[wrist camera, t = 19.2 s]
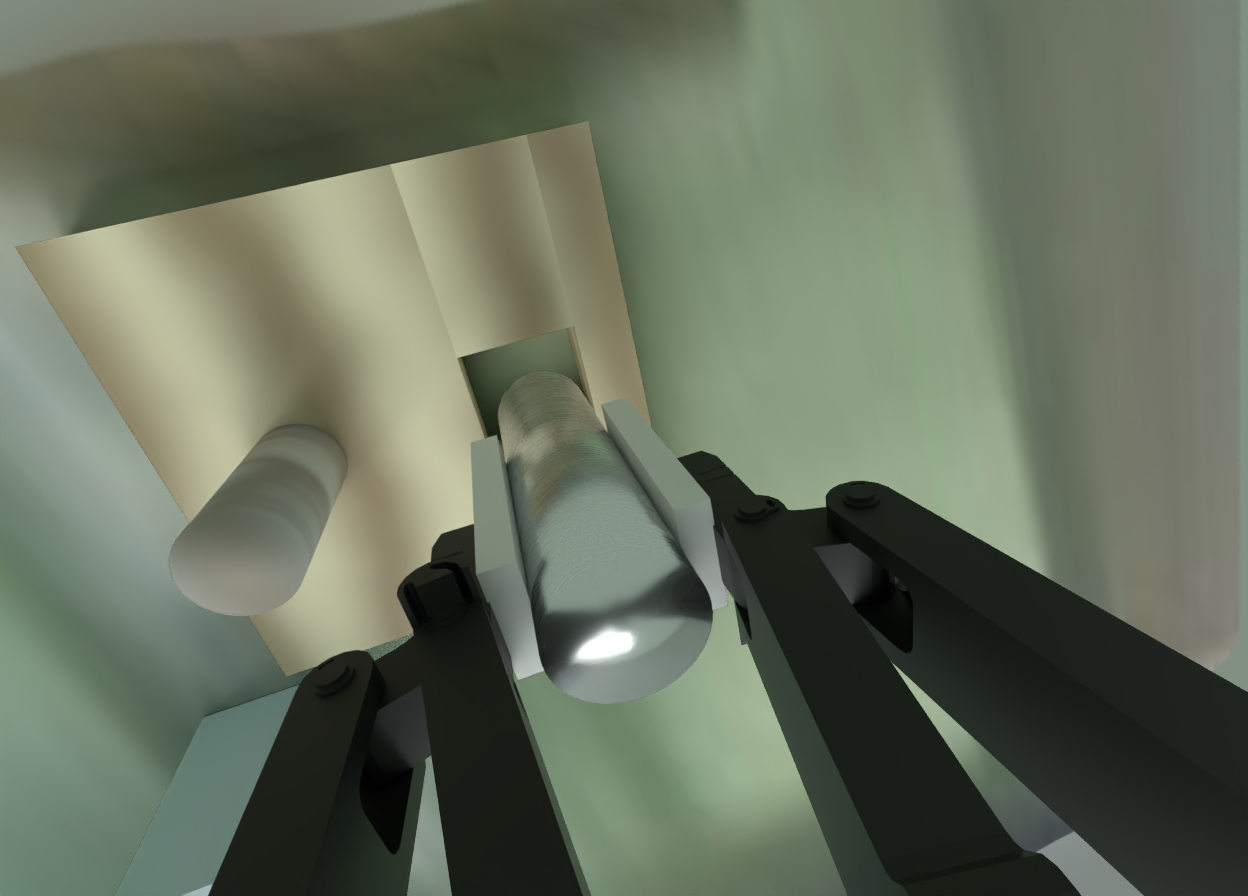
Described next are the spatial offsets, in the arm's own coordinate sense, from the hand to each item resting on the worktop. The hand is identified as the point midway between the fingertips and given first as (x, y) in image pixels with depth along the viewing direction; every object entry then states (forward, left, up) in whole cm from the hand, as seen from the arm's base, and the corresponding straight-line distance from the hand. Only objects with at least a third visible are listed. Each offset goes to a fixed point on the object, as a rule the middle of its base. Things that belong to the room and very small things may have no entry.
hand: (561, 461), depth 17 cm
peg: (0, 0, -4) cm, 4 cm away
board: (-5, 0, -9) cm, 10 cm away
